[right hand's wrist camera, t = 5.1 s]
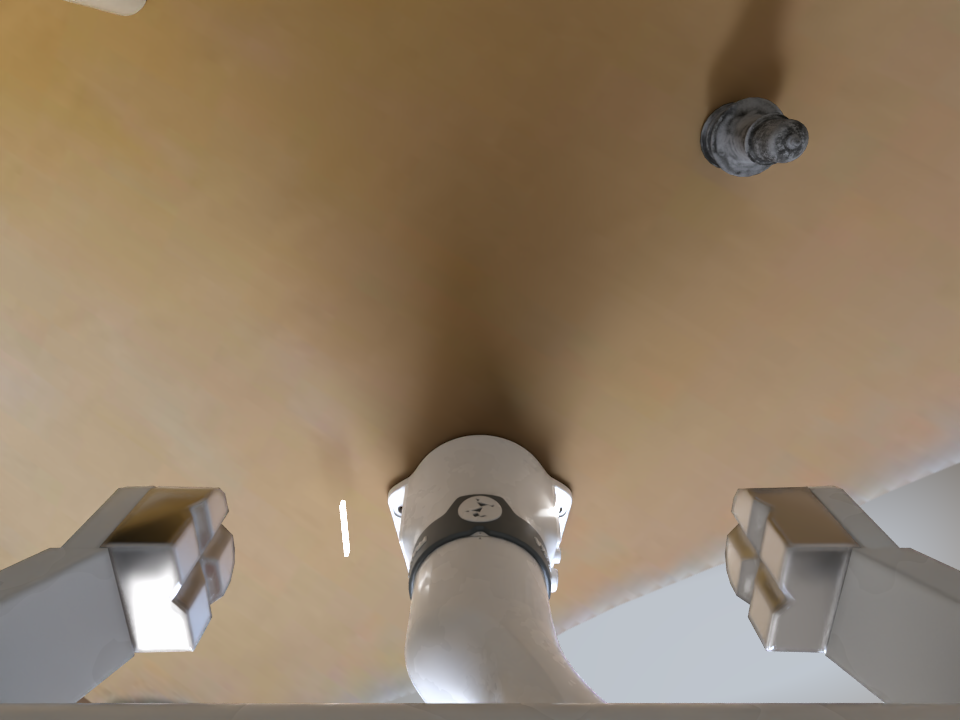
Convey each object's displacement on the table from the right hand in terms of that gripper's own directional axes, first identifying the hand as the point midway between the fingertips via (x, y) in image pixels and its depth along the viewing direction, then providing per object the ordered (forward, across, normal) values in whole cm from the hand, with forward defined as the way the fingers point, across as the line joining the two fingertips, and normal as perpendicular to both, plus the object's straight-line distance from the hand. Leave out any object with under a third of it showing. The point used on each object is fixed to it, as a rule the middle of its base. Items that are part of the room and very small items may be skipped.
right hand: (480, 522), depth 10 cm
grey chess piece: (+48, +21, +4) cm, 53 cm away
